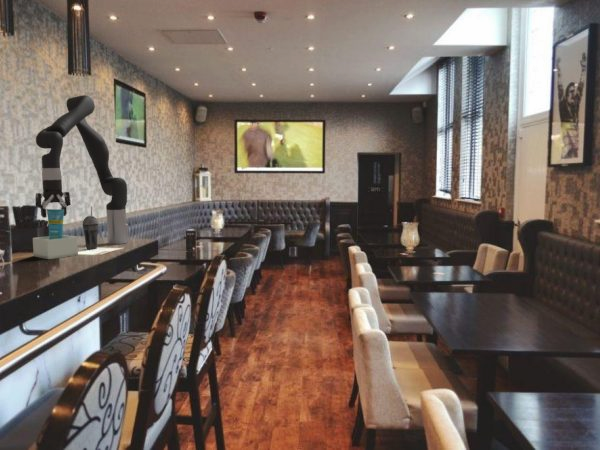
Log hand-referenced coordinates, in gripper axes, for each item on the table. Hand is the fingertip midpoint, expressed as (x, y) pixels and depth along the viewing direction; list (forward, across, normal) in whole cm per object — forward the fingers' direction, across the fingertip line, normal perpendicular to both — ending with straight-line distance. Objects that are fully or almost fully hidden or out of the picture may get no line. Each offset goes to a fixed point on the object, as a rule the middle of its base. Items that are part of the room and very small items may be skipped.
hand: (54, 216), depth 233 cm
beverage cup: (+17, -21, -7) cm, 28 cm away
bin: (+17, 0, 0) cm, 17 cm away
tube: (+16, 0, 0) cm, 16 cm away
